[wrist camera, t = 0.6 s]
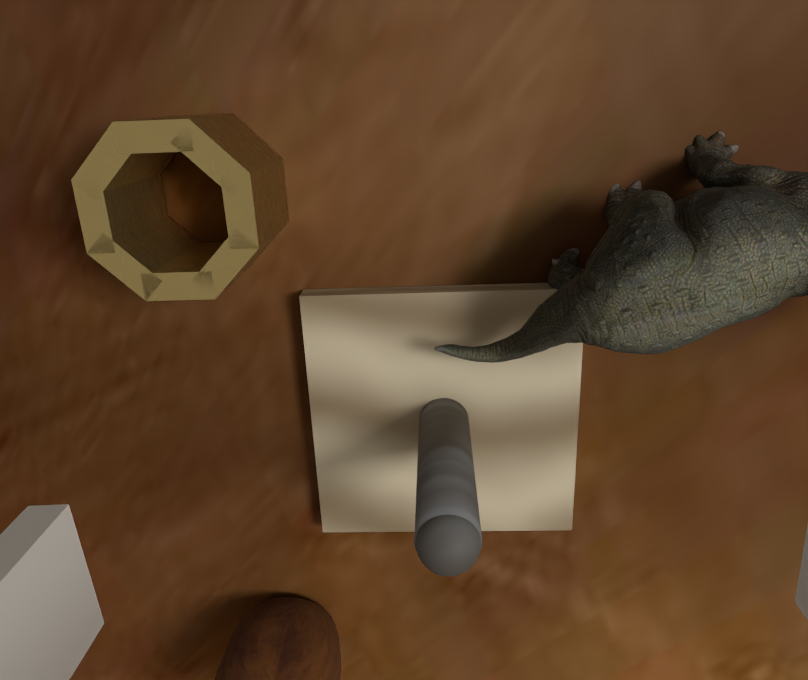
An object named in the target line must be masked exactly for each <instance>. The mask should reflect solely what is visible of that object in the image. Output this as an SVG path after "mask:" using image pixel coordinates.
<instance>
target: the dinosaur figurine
mask: <svg viewBox="0 0 808 680" xmlns="http://www.w3.org/2000/svg"><path fill="white" fill-rule="evenodd" d="M724 138H725V134H724V133H723V132H722V131H718V132H717V133H716V134H714V135H713V136H712V137H711V138H710V139H709V140H706V139H705V138H704V137H703V136H701V135H697V136H696V137H695V139H694V144H693V145H689V146H687V147H686V149H685V153H686V157H687V164H688V166H689V168H690V170H691V171H692V172H693V173H694V174H695V175H696V176H697V177H698V180H699V182H700V183H701V184H702V185H703V187H704V189H701V190H698V191H695V192H693V193H692V194H690V195H688V196H686V197H684V198H682V199H679V200H676V201H674V202H673V200H672V199H671V198H670V197H669V196H668V194H666V193H665V192H662V191H656V190H643V191H642V183H641V181H640V180H638V181H636V182H634V183H633V184H632V185H631V186H630V187H629V188H627V190H625V191H624V190H623V189H622V188H621V187H620V185H619V184H615V185H613V187H612V188H611V190H610V191H609V194H608V206H607V209H606V211H605V216H606V218H607V220H608V225H609V228H608V230H607V231H606V232H605V234H604V235H603V236H602V238H601V239H600V241H599V243H598V244H597V246H596V247H595V249H594V250H593V252H592V254H591V255H590V257H589V258H588V260H587V264H586V268H585V270H584V269H583V268H582V267H580V266H579V265H578V264H577V263H576V262H575V260H576V259H577V257H578V255H579V249H577V248H572V249H568V250H566V251H564V252H563V254H562V255H561V256H560V257H559V258H558V259H552V263H553V265H552V267H551V269H550V272H549V275H548V284H549V286H551V287H552V288H555V289H557V291H556V292H555V293H554V294H553V295H551V296H550V297H549V298H547V299H546V300H545V301H544V302H543V303H542V304H540V305H539V306H538V307H537V309H536V310H535V312H534V313H533V314H532V316H531V317H529V319H528V320H527V322H526V323H525V324H524V326H523V327H522V328H521V329H520V330H519V331H517V332H515V333H514V334H512V335H510V336H508V337H507V338H504V339H502V340H499V341H496V342H494V343H491V344H488V345H484V346H476V347H470V346H461V345H455V344H446V345H441V346H437V347H435V348H434V350H437V351H439V352H442V353H445V354H447V355H450V356H453V357H457V358H461V359H465V360H469V361H475V362H490V363H495V362H505V361H509V360H514V359H519V358H523V357H526V356H529V355H532V354H535V353H538V352H542V351H544V350H547V349H549V348H551V347H555V346H559V345H561V344H565V343H579V342H580V343H586V344H588V345H595V346H599V347H602V348H605V349H609V350H613V351H615V352H624V353H638V354H660V353H663V352H666V351H669V350H673V349H676V348H678V347H681V346H683V345H686V344H688V343H691V342H693V341H696V340H699V339H701V338H703V337H704V336H706V335H708V334H710V333H712V332H714V331H716V330H719V329H721V328H723V327H725V326H729V325H733V324H736V323H739V322H742V321H745V320H750V319H753V318H755V317H758V316H760V315H762V314H764V313H766V312H768V311H769V310H771V309H772V308H775V307H777V306H779V304H780V303H781V302H782V301H784V300H786V299H787V298H790V297H801V296H805V295H808V172H796V171H782V170H779V169H777V168H774V167H771V166H755V165H750V164H747V165H738V164H735V163H734V162H732V161H731V160H729V158H730V157H731V156H732V155H733V154H734V153H736V152H737V150H738V146H737V145H724Z"/></svg>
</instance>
